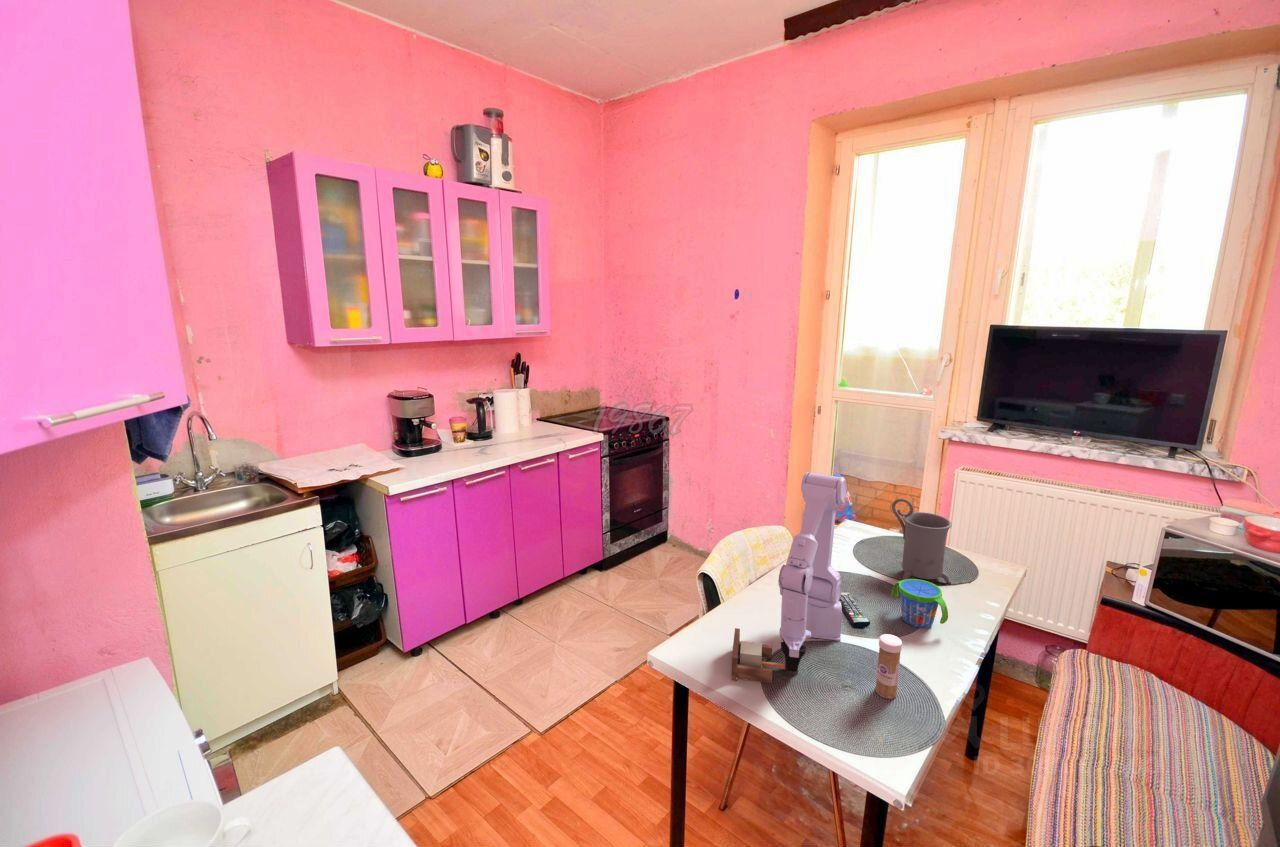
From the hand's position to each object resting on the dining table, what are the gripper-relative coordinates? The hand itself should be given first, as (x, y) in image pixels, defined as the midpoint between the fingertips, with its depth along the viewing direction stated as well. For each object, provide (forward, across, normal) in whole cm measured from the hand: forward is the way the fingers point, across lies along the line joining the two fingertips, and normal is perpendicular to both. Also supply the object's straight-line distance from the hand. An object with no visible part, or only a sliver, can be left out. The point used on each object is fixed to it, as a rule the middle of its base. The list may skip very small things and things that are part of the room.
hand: (791, 665), depth 128 cm
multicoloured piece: (+2, 0, +5) cm, 5 cm away
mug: (+2, +57, -41) cm, 70 cm away
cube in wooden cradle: (+2, 0, +8) cm, 9 cm away
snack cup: (+2, +29, -34) cm, 45 cm away
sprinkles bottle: (+2, -3, -20) cm, 21 cm away
